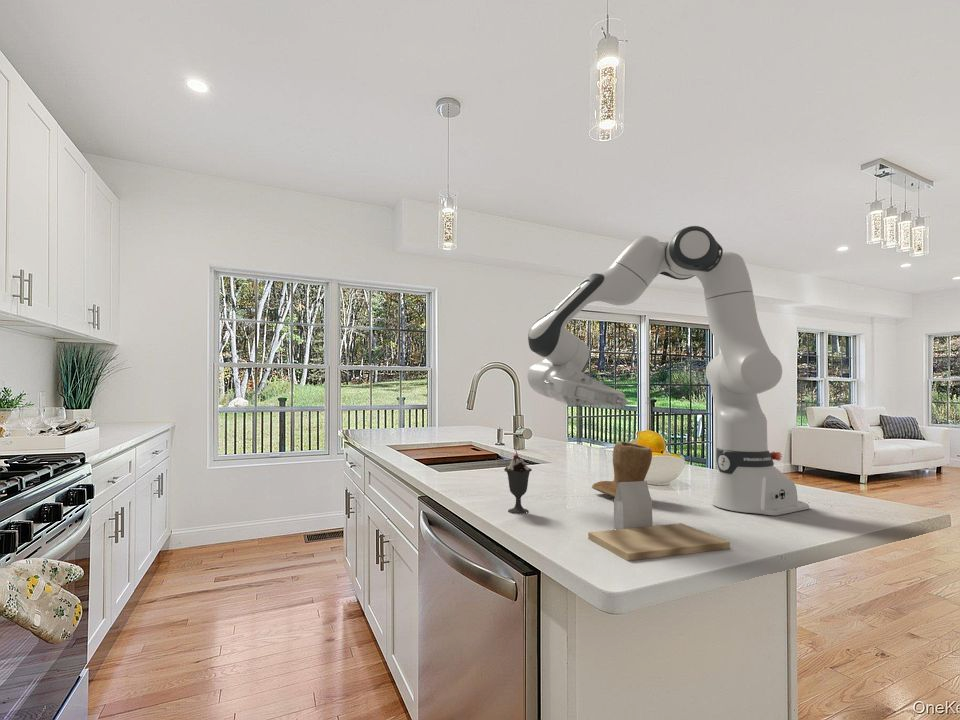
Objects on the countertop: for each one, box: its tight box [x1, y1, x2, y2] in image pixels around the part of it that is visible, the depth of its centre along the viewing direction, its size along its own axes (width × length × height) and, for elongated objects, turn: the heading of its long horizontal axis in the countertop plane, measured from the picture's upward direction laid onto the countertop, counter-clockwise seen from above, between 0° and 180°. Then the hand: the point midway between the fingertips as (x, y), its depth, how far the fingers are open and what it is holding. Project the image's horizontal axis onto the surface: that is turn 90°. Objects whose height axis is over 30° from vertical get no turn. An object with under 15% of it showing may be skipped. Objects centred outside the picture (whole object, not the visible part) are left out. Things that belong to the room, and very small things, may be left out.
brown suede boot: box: [591, 440, 653, 498], centre depth 139 cm, size 15×12×15 cm
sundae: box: [504, 447, 533, 514], centre depth 124 cm, size 7×7×15 cm
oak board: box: [587, 522, 731, 562], centre depth 99 cm, size 22×14×1 cm, turn 108°
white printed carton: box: [613, 480, 653, 530], centre depth 109 cm, size 4×7×10 cm, turn 105°
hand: (610, 399), depth 119 cm, fingers open, 8 cm apart
